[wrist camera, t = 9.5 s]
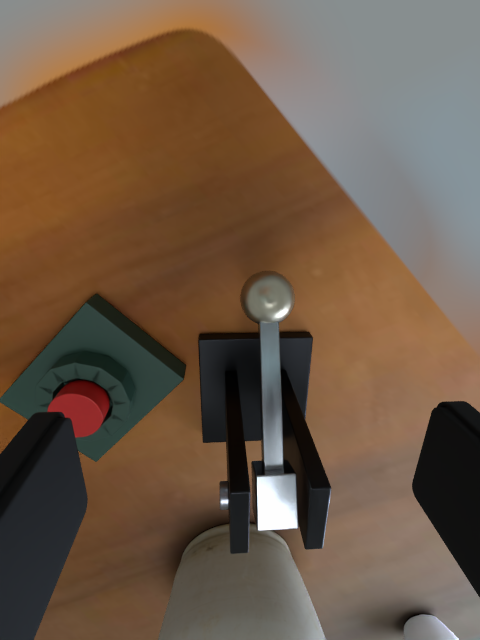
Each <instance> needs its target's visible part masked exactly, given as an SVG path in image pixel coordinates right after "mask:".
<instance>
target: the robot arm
mask: <svg viewBox="0 0 480 640" xmlns="http://www.w3.org/2000/svg"><path fill="white" fill-rule="evenodd" d="M412 489H413V493H414V495H415V497H416V499H417V501H418V502H419V504H420V505H421V507H422V509H423V510H424V512H425V513H426V515H427V516H428V518H429V519H430V521H431V523H432V524H433V526H434V527H435V529H436V530H437V532H438V533H439V535H440V537H441V538H442V540H443V541H444V543H445V544H446V546H447V547H448V549H449V551H450V552H451V554H452V555H453V557H454V558H455V560H456V561H457V563H458V565H459V566H460V568H461V569H462V571H463V572H464V574H465V575H466V577H467V579H468V580H469V582H470V583H471V585H472V586H473V588H474V589H475V591H476V593H477V594H478V596H479V597H480V413H479V412H478V411H477V410H476V409H475V408H474V407H472V406H471V405H470V404H468V403H467V402H464V401H454V402H441V403H439V404H438V406H437V408H434V409H433V410H432V413H431V416H430V420H429V424H428V427H427V431H426V435H425V438H424V442H423V446H422V449H421V453H420V457H419V460H418V464H417V468H416V471H415V475H414V479H413V483H412ZM87 499H88V498H87V492H86V487H85V483H84V478H83V473H82V468H81V463H80V458H79V454H78V449H77V444H76V439H75V434H74V429H73V425H72V421H71V419H70V418H65V416H64V414H63V413H62V412H37V413H34V414H33V415H32V416H31V417H30V419H29V420H28V421H27V422H26V424H25V425H24V426H23V427H22V428H21V430H20V431H19V432H18V433H17V435H16V436H15V437H14V438H13V439H12V441H11V442H10V443H9V444H8V446H7V447H6V448H5V449H4V450H3V452H2V453H1V454H0V640H34V637H35V635H36V632H37V630H38V628H39V625H40V623H41V620H42V618H43V615H44V613H45V610H46V608H47V605H48V603H49V601H50V598H51V596H52V593H53V591H54V588H55V586H56V583H57V581H58V578H59V576H60V574H61V571H62V569H63V566H64V564H65V561H66V559H67V556H68V554H69V551H70V549H71V547H72V544H73V542H74V539H75V537H76V534H77V532H78V529H79V527H80V524H81V522H82V520H83V517H84V515H85V512H86V508H87Z"/></svg>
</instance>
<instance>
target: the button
mask: <svg viewBox="0 0 480 640" xmlns="http://www.w3.org/2000/svg"><path fill="white" fill-rule="evenodd" d="M109 407H110V400H109V397H108V395H107V393H106V392H105V390H104V389H103V388H102V387H100V386H99V385H97V384H96V383H93V382H91V381H86V380H76V381H72V382H70V383H68V384H66V385H65V386H64V387H63V388H62V389H61V390H60V391H59V393H58V394H57V395H56V396H55V398H54V399H53V400H52V402H51V403H50V405H49V407H48V412H62V413H63V414H64V416H65V418H70V419H71V421H72V425H73V429H74V434H75V437H85V436H89V435H91V434H93V433H95V432H96V431H97V430H98V429H99V428H100V426H101V424H102V422H103V420H104V418H105V416H106V414H107V412H108V410H109Z"/></svg>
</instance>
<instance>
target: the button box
mask: <svg viewBox="0 0 480 640" xmlns="http://www.w3.org/2000/svg"><path fill="white" fill-rule="evenodd" d="M185 369H186V365H185V364H183V363H182V362H181V361H180V360H179V359H177V358H176V357H175V356H174V355H172V354H171V353H170V352H169V351H167V350H166V349H165V348H164V347H162V346H161V345H160V344H159V343H157V342H156V341H155V340H154V339H152V338H151V337H150V336H149V335H148V334H146V333H145V332H144V331H143V330H141V329H140V328H139V327H138V326H136V325H135V324H134V323H133V322H131V321H130V320H129V319H128V318H126V317H125V316H124V315H123V314H121V313H120V312H119V311H118V310H116V309H115V308H114V307H113V306H112V305H110V304H109V303H108V302H107V301H105V300H104V299H103V298H102V297H100V296H99V295H98V294H95V295H94V296H93V297H92V298H91V299H89V300H88V301H87V302H86V303H85V304H84V305H83V306H82V307H81V308H80V310H79V311H78V312H77V313H76V314H75V315H74V316H73V317H72V318H71V320H70V321H69V322H68V323H67V324H66V325H65V326H64V327H63V329H62V330H61V331H60V332H59V333H58V334H57V335H56V336H55V337H54V339H53V340H52V341H51V342H50V343H49V344H48V345H47V346H46V348H45V349H44V350H43V351H42V352H41V353H40V354H39V355H38V356H37V358H36V359H35V360H34V361H33V362H32V363H31V364H30V365H29V367H28V368H27V369H26V370H25V371H24V372H23V373H22V374H21V375H20V377H19V378H18V379H17V380H16V381H15V382H14V383H13V384H12V386H11V387H10V388H9V389H8V390H7V391H6V392H5V393H4V394H3V396H2V397H1V398H0V402H1V403H2V404H4V405H5V406H7V407H9V408H10V409H12V410H14V411H15V412H17V413H18V414H20V415H22V416H23V417H25V418H26V419H28V420H29V419H30V417H31V416H32V415H33V414H34V413H37V412H48V407H49V405H50V403H51V402H52V400H53V399H54V398H55V396H56V395H57V394H58V393H59V391H60V390H61V389H62V388H63V387H64V386H65V385H66V384H68V383H70V382H72V381H76V380H86V381H91V382H93V383H96V384H97V385H99V386H100V387H102V388H103V389H104V390H105V392H106V393H107V395H108V397H109V400H110V407H109V410H108V412H107V414H106V416H105V418H104V420H103V422H102V424H101V426H100V428H99V429H98V430H97V431H96V432H95V433H93V434H91V435H89V436H85V437H75V439H76V444H77V449H78V451H79V452H81V453H83V454H84V455H86V456H87V457H89V458H91V459H92V460H94V461H95V462H96V461H98V460H99V459H100V458H101V457H102V456H103V455H104V454H105V453H106V452H107V451H108V450H109V449H110V448H111V447H112V446H113V445H115V444H116V443H117V442H118V441H119V440H120V439H121V438H122V437H123V436H124V435H125V434H126V433H127V432H128V431H129V430H130V429H132V428H133V427H134V426H135V425H136V424H137V423H138V422H139V421H140V420H141V419H142V418H143V417H144V416H145V415H146V414H148V413H149V412H150V411H151V410H152V409H153V408H154V407H155V406H156V405H157V404H158V403H159V402H160V401H161V400H162V399H163V398H165V397H166V396H167V395H168V394H169V393H170V392H171V391H172V390H173V389H174V388H175V387H176V386H177V385H178V384H179V383H180V382H182V381H183V380H184V375H185Z"/></svg>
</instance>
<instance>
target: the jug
mask: <svg viewBox="0 0 480 640" xmlns="http://www.w3.org/2000/svg"><path fill="white" fill-rule="evenodd" d="M158 640H326V639H325V636H324V633H323V630H322V628H321V625H320V622H319V620H318V617H317V615H316V612H315V609H314V607H313V604H312V602H311V599H310V597H309V594H308V592H307V590H306V587H305V585H304V582H303V580H302V577H301V575H300V573H299V571H298V569H297V567H296V564H295V562H294V560H293V558H292V556H291V553H290V550H289V547H288V545H287V544H286V542H285V541H284V540H283V538H282V537H281V536H279V535H278V534H277V533H275V532H274V531H272V530H269V531H257V528H256V524H250V527H249V552H248V553H240V554H231V553H230V534H229V524H224V525H220V526H217V527H214V528H211V529H209V530H207V531H205V532H203V533H201V534H200V535H199V536H197V537H196V538H195V539H194V540H192V541H191V542H190V543H189V545H188V546H187V547H186V549H185V551H184V553H183V555H182V558H181V563H180V565H179V567H178V570H177V572H176V576H175V579H174V583H173V587H172V591H171V595H170V599H169V602H168V605H167V609H166V612H165V616H164V619H163V623H162V627H161V630H160V634H159V638H158Z"/></svg>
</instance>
